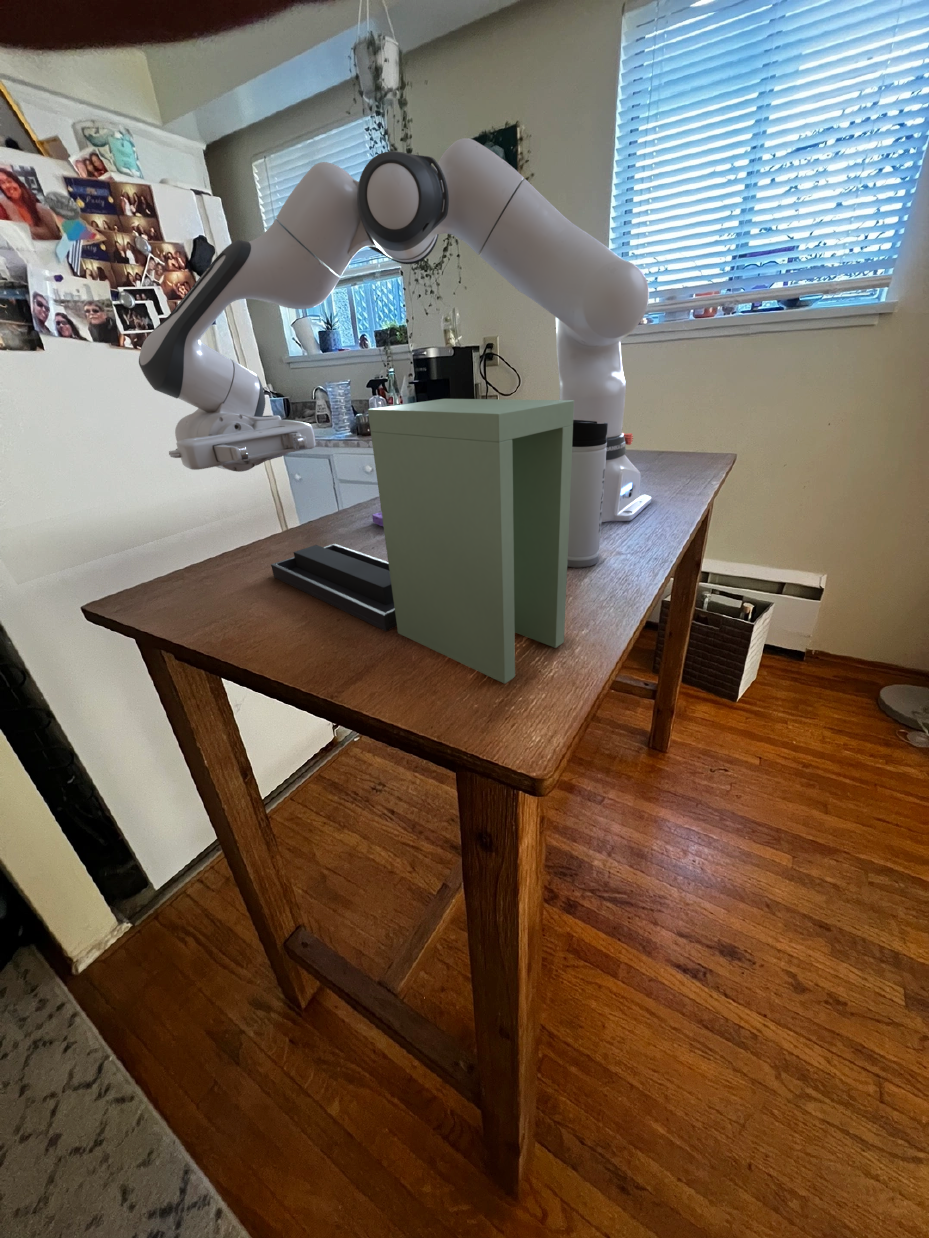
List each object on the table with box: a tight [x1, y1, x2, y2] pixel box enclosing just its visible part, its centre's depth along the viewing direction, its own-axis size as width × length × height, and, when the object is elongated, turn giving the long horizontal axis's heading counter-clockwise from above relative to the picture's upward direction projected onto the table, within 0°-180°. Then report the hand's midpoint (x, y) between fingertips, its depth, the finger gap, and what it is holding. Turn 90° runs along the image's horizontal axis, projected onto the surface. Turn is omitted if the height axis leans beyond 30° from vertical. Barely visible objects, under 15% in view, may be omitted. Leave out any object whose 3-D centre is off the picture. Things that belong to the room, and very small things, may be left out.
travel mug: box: [567, 420, 608, 569], centre depth 70 cm, size 6×7×20 cm
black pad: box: [293, 544, 394, 605], centre depth 71 cm, size 4×22×2 cm, turn 46°
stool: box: [367, 398, 574, 685], centre depth 50 cm, size 10×16×24 cm, turn 46°
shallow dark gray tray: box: [270, 543, 397, 632], centre depth 70 cm, size 11×27×2 cm, turn 46°
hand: (273, 448), depth 72 cm, fingers open, 8 cm apart
